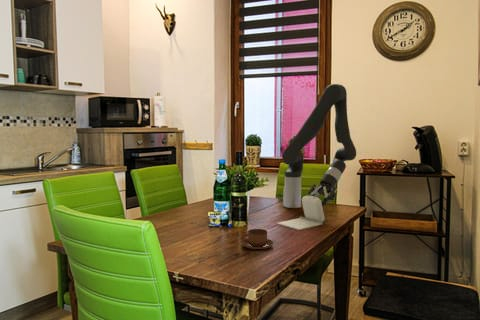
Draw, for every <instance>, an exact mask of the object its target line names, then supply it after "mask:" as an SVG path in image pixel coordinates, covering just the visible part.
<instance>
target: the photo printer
mask: <svg viewBox="0 0 480 320" xmlns="http://www.w3.org/2000/svg"><path fill="white" fill-rule="evenodd" d="M321 202H322V200H321V199H320V198H319V197H318V196H315V197H314V196H310V195H304V196H303V197H301V206H302V209H303V212H304V217H305V218H309V219H313V220H317V221H321V222H323V223H324V221H325V214H324V209H323V208H324V207H323V206H322V203H321Z"/></svg>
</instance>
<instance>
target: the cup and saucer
mask: <svg viewBox="0 0 480 320" xmlns="http://www.w3.org/2000/svg"><path fill="white" fill-rule="evenodd" d="M245 236H246V237H247V238H245ZM244 238H245V239H244ZM241 240H242V241H241V245H242V246H243V247H245V248H247V249H251V250H256V249H260V250H267V249H270V248H271V247H272V246H273V245H274V241H273V240H271V239H269V238H268V231H267V230H266V229H262V228H261V229H260V228H253V229H249V230H248V231H247V233H244V234H242V236H241ZM248 244H250V245H251V246H252V247H251V246H246V245H248ZM266 244H267V245H269V246H266V247H263V246H265V245H266Z"/></svg>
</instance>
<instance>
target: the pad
mask: <svg viewBox="0 0 480 320" xmlns="http://www.w3.org/2000/svg"><path fill="white" fill-rule="evenodd" d="M276 224H277V225H279V226H284V227H287V228H291V229H294V230H297V231H300V230H304V229H310V228H314V227H318V226H323V224H324V221H323V222H321V221H317V220H313V219H309V218H305V216H299V218H294V219H293V218H292V219H288V220H285V221H284V220H283V221H280V222H276Z"/></svg>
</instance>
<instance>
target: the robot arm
mask: <svg viewBox="0 0 480 320" xmlns="http://www.w3.org/2000/svg"><path fill="white" fill-rule="evenodd" d="M347 93H348V92H347V89H346V87H345V86H344V85H342V84H340V83H338V84H337V83H336V84H335V83H331V84H329V85H328V86H326V87H325V89H324V91H323V93H322V94H321V97H319V98H320V99H319V100H318V102H317V104H316V105H315V106H314V108H313V110H311V113H310V114H309V115H308V117H307V118H306V120H304V123H303V124H302V126H301V127H300V129H299V131H298V132H297V134H296V135H295V137H294V138H293V139H292V141H291V142H290V143H289V144H288V146H287V147H286V148H285V149H284V150H283V152H282V154H281V155H282V156H281V160H282V162H283V164H284V165H288V166H287V169H286V170H285V171H284V189H283V191H282V198H283V199H282V206H283V207H285V208H289V209H299V208H301V206H302V173H303V169H304V153H303V151H302V150H303V148H304V147H306V145H307V144H309V143H310V142H312V141H313V139H315V138H316V137H317V135H319V133H320V131H321V130H322V128H323V127H324V125H325V122H326V118H327V116H328V114H329V112H330V110H331V109H332V108H333V106H334V111H335V113H334V114H335V118H334V133H335V137H336V138H335V139H336V142H337V143H339V144H342V145H343V146H342V147H339V148H338V149H336V151H335V154H334V156H333V160H332V162H331V165H330V166H329V168H328V169H327V170H326V171H325V173H324V175H323V176H322V178H321V179H320V181H319V184H318V185H316V184H315V183H314V184H313V185H312V186H311V188H310V189H309V190H308V192H307V194H308V196H314V197H318V196H324V197H323V199H322V200H321V203H322V207H325V206H327V203H328V202H329V201H330V200H331V201H333V200H334V199H335V196H336V194H337V193H338V189H337V188H336V186H337V184H338V182H339V181H340V179H341V178H342V177H341V176H342V175H343V174H344V172H345V170H346V168H347V164H346V163H345V162H347V161H348V162H349V161H353V160H355V158H356V157H357V149H356V146H355V145H354V144H355V143H354V142H353V139H352V138H351V137H352V136H351V133H350V127H349V118H348V105H347V103H348V100H347V98H348V95H347Z"/></svg>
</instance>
